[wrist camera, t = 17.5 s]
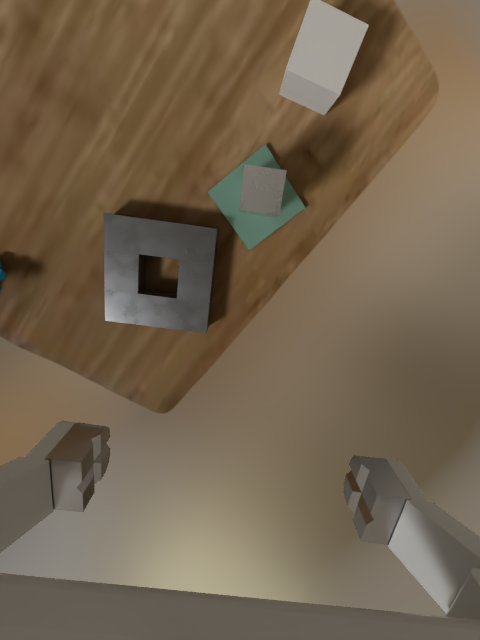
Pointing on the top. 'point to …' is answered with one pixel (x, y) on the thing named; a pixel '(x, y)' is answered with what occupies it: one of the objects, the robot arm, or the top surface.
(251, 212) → the steel bar
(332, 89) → the plain white cube
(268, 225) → the rubber mat
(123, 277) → the socket block
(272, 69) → the top surface
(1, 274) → the gear
